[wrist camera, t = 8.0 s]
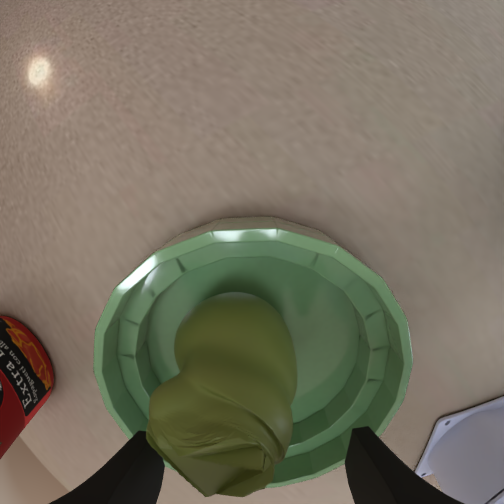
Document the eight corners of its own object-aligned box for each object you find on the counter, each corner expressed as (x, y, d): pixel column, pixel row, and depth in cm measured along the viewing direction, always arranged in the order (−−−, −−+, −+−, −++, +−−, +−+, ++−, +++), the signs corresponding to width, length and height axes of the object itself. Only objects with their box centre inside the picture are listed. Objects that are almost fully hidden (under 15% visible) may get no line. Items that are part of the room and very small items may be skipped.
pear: (303, 348, 17) (342, 499, 7) (217, 381, 17) (192, 530, 7) (260, 258, 16) (268, 379, 6) (168, 300, 16) (81, 431, 6)
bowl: (389, 213, 16) (431, 224, 11) (362, 429, 19) (379, 473, 15) (108, 223, 16) (64, 238, 12) (152, 434, 19) (135, 479, 15)
